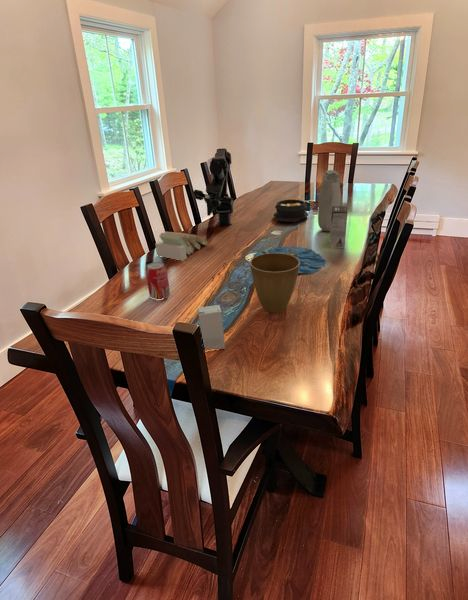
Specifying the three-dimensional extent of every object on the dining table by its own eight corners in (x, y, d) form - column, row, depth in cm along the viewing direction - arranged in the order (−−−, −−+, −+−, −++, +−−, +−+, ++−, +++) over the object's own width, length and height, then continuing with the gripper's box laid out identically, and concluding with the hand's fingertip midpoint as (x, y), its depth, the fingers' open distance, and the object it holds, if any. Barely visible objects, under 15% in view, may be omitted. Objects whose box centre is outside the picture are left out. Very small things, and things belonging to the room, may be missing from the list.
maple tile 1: (190, 238, 188) (176, 232, 178) (208, 241, 183) (194, 234, 174) (189, 242, 188) (175, 236, 178) (207, 245, 183) (193, 239, 174)
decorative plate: (330, 254, 171) (331, 242, 168) (320, 282, 145) (321, 269, 143) (263, 246, 179) (263, 235, 177) (242, 272, 154) (242, 259, 152)
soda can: (151, 293, 141) (145, 262, 136) (171, 292, 142) (166, 260, 136) (149, 302, 135) (143, 270, 130) (169, 301, 135) (165, 268, 130)
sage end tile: (173, 248, 179) (161, 232, 170) (191, 251, 174) (179, 235, 165) (171, 251, 178) (159, 236, 169) (189, 255, 173) (177, 239, 164)
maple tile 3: (176, 246, 180) (165, 231, 172) (194, 249, 176) (183, 234, 167) (174, 250, 180) (162, 235, 171) (192, 253, 175) (181, 237, 166)
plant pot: (245, 316, 124) (243, 268, 116) (259, 295, 136) (258, 250, 129) (292, 322, 119) (293, 273, 111) (302, 300, 131) (304, 254, 124)
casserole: (303, 225, 202) (304, 209, 198) (268, 224, 208) (267, 208, 204) (312, 212, 223) (312, 197, 219) (279, 211, 229) (279, 196, 225)
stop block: (161, 254, 176) (159, 241, 173) (186, 259, 169) (185, 245, 166) (157, 256, 174) (155, 243, 171) (182, 261, 167) (180, 248, 164)
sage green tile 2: (183, 242, 184) (170, 231, 175) (200, 245, 179) (188, 234, 170) (181, 246, 184) (168, 235, 174) (199, 249, 179) (186, 238, 169)
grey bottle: (340, 233, 189) (345, 172, 176) (319, 234, 189) (322, 173, 176) (336, 226, 198) (340, 168, 185) (315, 227, 198) (318, 169, 185)
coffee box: (329, 241, 180) (331, 205, 172) (344, 241, 179) (347, 205, 171) (329, 248, 172) (332, 211, 164) (345, 248, 171) (348, 211, 163)
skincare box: (223, 341, 112) (220, 303, 106) (225, 350, 108) (222, 311, 102) (201, 344, 111) (197, 306, 105) (203, 353, 107) (199, 314, 101)
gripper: (194, 172, 181) (185, 205, 180) (233, 181, 179) (224, 214, 177) (199, 182, 192) (191, 213, 191) (236, 190, 190) (228, 221, 188)
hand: (208, 215), depth 187 cm, fingers closed
